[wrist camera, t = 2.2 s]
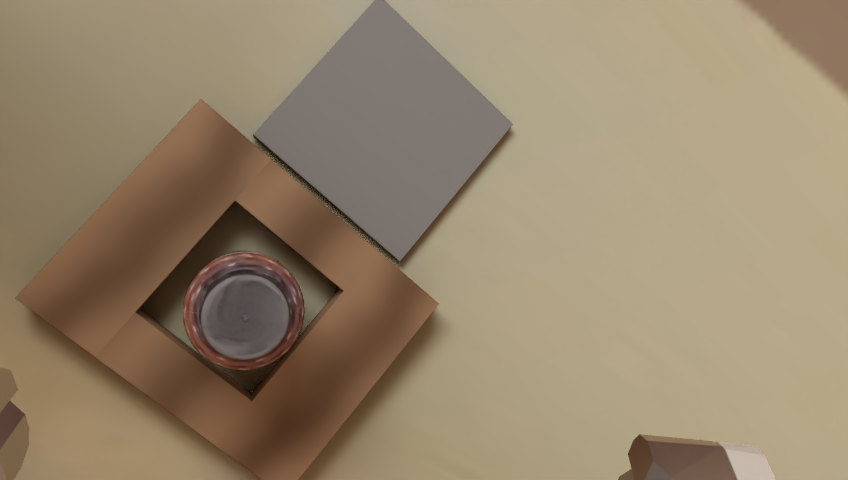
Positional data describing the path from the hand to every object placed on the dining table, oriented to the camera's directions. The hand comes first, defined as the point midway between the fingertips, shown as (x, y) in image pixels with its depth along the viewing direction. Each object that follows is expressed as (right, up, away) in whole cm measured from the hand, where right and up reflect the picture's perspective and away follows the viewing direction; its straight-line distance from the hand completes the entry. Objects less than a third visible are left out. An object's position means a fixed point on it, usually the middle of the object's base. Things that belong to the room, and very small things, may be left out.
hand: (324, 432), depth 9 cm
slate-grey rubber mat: (-1, +10, +36) cm, 37 cm away
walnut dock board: (-10, -1, +33) cm, 35 cm away
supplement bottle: (-10, -1, +34) cm, 35 cm away
